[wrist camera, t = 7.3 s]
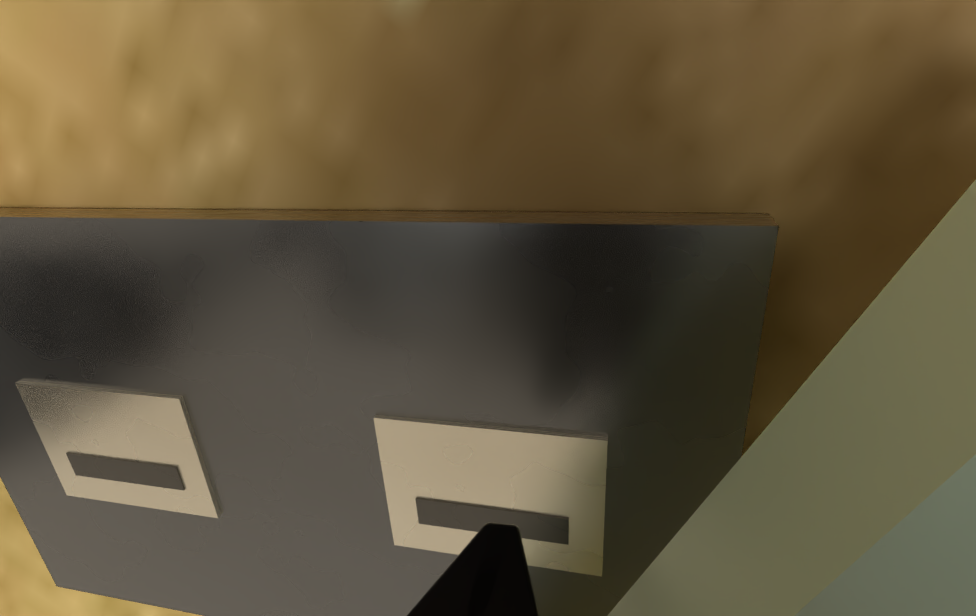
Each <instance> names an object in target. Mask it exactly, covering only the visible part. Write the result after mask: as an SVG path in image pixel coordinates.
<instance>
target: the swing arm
mask: <svg viewBox="0 0 976 616" xmlns="http://www.w3.org/2000/svg"><path fill="white" fill-rule="evenodd" d="M608 616H976V180H975V181H974V182H973V183H972V184H971V185H970V187H969V188H968V189H967V190H966V191H965V193H964V194H963V195H962V196H961V197H960V199H959V200H958V201H957V202H956V203H955V204H954V206H953V207H952V208H951V209H950V210H949V212H948V213H947V214H946V215H945V216H944V217H943V219H942V220H941V221H940V222H939V223H938V225H937V226H936V227H935V228H934V229H933V231H932V232H931V233H930V234H929V235H928V236H927V238H926V239H925V240H924V241H923V242H922V244H921V245H920V246H919V247H918V248H917V249H916V251H915V252H914V253H913V254H912V255H911V257H910V258H909V259H908V260H907V261H906V262H905V264H904V265H903V266H902V267H901V268H900V270H899V271H898V272H897V273H896V274H895V276H894V277H893V278H892V279H891V280H890V281H889V283H888V284H887V285H886V286H885V287H884V289H883V290H882V291H881V292H880V293H879V294H878V296H877V297H876V298H875V299H874V300H873V302H872V303H871V304H870V305H869V306H868V308H867V309H866V310H865V311H864V312H863V313H862V315H861V316H860V317H859V318H858V319H857V321H856V322H855V323H854V324H853V325H852V326H851V328H850V329H849V330H848V331H847V332H846V334H845V335H844V336H843V337H842V338H841V340H840V341H839V342H838V343H837V344H836V345H835V347H834V348H833V349H832V350H831V351H830V353H829V354H828V355H827V356H826V357H825V358H824V360H823V361H822V362H821V363H820V364H819V366H818V367H817V368H816V369H815V370H814V371H813V373H812V374H811V375H810V376H809V377H808V379H807V380H806V381H805V382H804V383H803V385H802V386H801V387H800V388H799V389H798V390H797V392H796V393H795V394H794V395H793V396H792V398H791V399H790V400H789V401H788V402H787V403H786V405H785V406H784V407H783V408H782V409H781V411H780V412H779V413H778V414H777V415H776V417H775V418H774V419H773V420H772V421H771V422H770V424H769V425H768V426H767V427H766V428H765V430H764V431H763V432H762V433H761V434H760V435H759V437H758V438H757V439H756V440H755V441H754V443H753V444H752V445H751V446H750V447H749V448H748V450H747V451H746V452H745V453H744V454H743V456H742V457H741V458H740V459H739V460H738V462H737V463H736V464H735V465H734V466H733V467H732V469H731V470H730V471H729V472H728V473H727V475H726V476H725V477H724V478H723V479H722V480H721V482H720V483H719V484H718V485H717V486H716V488H715V489H714V490H713V491H712V492H711V494H710V495H709V496H708V497H707V498H706V499H705V501H704V502H703V503H702V504H701V505H700V507H699V508H698V509H697V510H696V511H695V512H694V514H693V515H692V516H691V517H690V518H689V520H688V521H687V522H686V523H685V524H684V526H683V527H682V528H681V529H680V530H679V531H678V533H677V534H676V535H675V536H674V537H673V539H672V540H671V541H670V542H669V543H668V544H667V546H666V547H665V548H664V549H663V550H662V552H661V553H660V554H659V555H658V556H657V557H656V559H655V560H654V561H653V562H652V563H651V565H650V566H649V567H648V568H647V569H646V571H645V572H644V573H643V574H642V575H641V576H640V578H639V579H638V580H637V581H636V582H635V584H634V585H633V586H632V587H631V588H630V589H629V591H628V592H627V593H626V594H625V595H624V597H623V598H622V599H621V600H620V601H619V603H618V604H617V605H616V606H615V607H614V608H613V610H612V611H611V612H610V613H609V614H608Z"/></svg>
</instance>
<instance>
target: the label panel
mask: <svg viewBox="0 0 976 616" xmlns="http://www.w3.org/2000/svg"><path fill="white" fill-rule="evenodd" d="M778 228H779V226H778V225H777V223H776V222H775V221H774V220H773V218H772V217H771V216H770V215H769V214H744V213H612V212H480V211H348V210H216V209H84V208H0V477H1V479H2V481H3V483H4V485H5V487H6V489H7V491H8V493H9V495H10V497H11V498H12V500H13V502H14V504H15V506H16V508H17V510H18V512H19V514H20V516H21V518H22V520H23V522H24V524H25V526H26V528H27V529H28V531H29V533H30V535H31V537H32V539H33V541H34V543H35V545H36V547H37V549H38V551H39V553H40V555H41V557H42V559H43V561H44V562H45V564H46V566H47V568H48V570H49V572H50V574H51V576H52V578H53V580H54V582H55V584H56V586H58V587H63V588H68V589H73V590H78V591H83V592H88V593H93V594H98V595H103V596H108V597H113V598H118V599H123V600H128V601H133V602H138V603H143V604H148V605H153V606H158V607H163V608H168V609H173V610H179V611H184V612H189V613H194V614H199V615H204V616H407V615H408V614H409V612H410V611H411V610H412V609H413V608H414V607H415V605H416V604H417V603H418V602H419V601H420V600H421V598H422V597H423V596H424V595H425V594H426V593H427V591H428V590H429V589H430V588H431V587H432V585H433V584H434V583H435V582H436V581H437V580H438V578H439V577H440V576H441V575H442V574H443V573H444V571H445V570H446V569H447V568H448V567H449V566H450V564H451V563H452V562H453V561H454V560H455V559H456V557H457V556H458V555H459V554H460V553H461V552H462V550H463V549H464V548H465V547H466V546H467V544H468V543H469V542H470V541H471V540H472V539H473V537H474V536H475V535H476V534H477V533H478V532H479V530H480V529H481V528H482V527H483V526H484V525H485V524H486V523H489V522H495V523H504V524H513V525H516V526H518V528H519V530H520V533H521V538H522V542H523V547H524V552H525V556H526V561H527V565H528V570H529V574H530V579H531V583H532V588H533V592H534V597H535V601H536V606H537V610H538V615H539V616H608V614H609V613H610V612H611V611H612V610H613V608H614V607H615V606H616V605H617V604H618V603H619V601H620V600H621V599H622V598H623V597H624V595H625V594H626V593H627V592H628V591H629V589H630V588H631V587H632V586H633V585H634V584H635V582H636V581H637V580H638V579H639V578H640V576H641V575H642V574H643V573H644V572H645V571H646V569H647V568H648V567H649V566H650V565H651V563H652V562H653V561H654V560H655V559H656V557H657V556H658V555H659V554H660V553H661V552H662V550H663V549H664V548H665V547H666V546H667V544H668V543H669V542H670V541H671V540H672V539H673V537H674V536H675V535H676V534H677V533H678V531H679V530H680V529H681V528H682V527H683V526H684V524H685V523H686V522H687V521H688V520H689V518H690V517H691V516H692V515H693V514H694V512H695V511H696V510H697V509H698V508H699V507H700V505H701V504H702V503H703V502H704V501H705V499H706V498H707V497H708V496H709V495H710V494H711V492H712V491H713V490H714V489H715V488H716V486H717V485H718V484H719V483H720V482H721V480H722V479H723V478H724V477H725V476H726V475H727V473H728V472H729V471H730V470H731V469H732V467H733V466H734V465H735V464H736V463H737V462H738V460H739V459H740V458H741V455H742V449H743V443H744V437H745V431H746V425H747V418H748V412H749V406H750V400H751V394H752V388H753V382H754V375H755V369H756V363H757V357H758V351H759V345H760V339H761V332H762V326H763V320H764V314H765V308H766V302H767V296H768V289H769V283H770V277H771V271H772V265H773V259H774V253H775V246H776V240H777V234H778Z"/></svg>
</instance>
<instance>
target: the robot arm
mask: <svg viewBox="0 0 976 616" xmlns="http://www.w3.org/2000/svg"><path fill="white" fill-rule="evenodd" d="M407 616H539V615H538V610H537V606H536V601H535V597H534V592H533V588H532V583H531V579H530V574H529V570H528V565H527V561H526V556H525V552H524V547H523V542H522V538H521V533H520V530H519V528H518V526H516V525H513V524H504V523H495V522H489V523H486V524H485V525H484V526H483V527H482V528H481V529H480V530H479V532H478V533H477V534H476V535H475V536H474V537H473V539H472V540H471V541H470V542H469V543H468V544H467V546H466V547H465V548H464V549H463V550H462V552H461V553H460V554H459V555H458V556H457V557H456V559H455V560H454V561H453V562H452V563H451V564H450V566H449V567H448V568H447V569H446V570H445V571H444V573H443V574H442V575H441V576H440V577H439V578H438V580H437V581H436V582H435V583H434V584H433V585H432V587H431V588H430V589H429V590H428V591H427V593H426V594H425V595H424V596H423V597H422V598H421V600H420V601H419V602H418V603H417V604H416V605H415V607H414V608H413V609H412V610H411V611H410V612H409V614H408V615H407Z"/></svg>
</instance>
